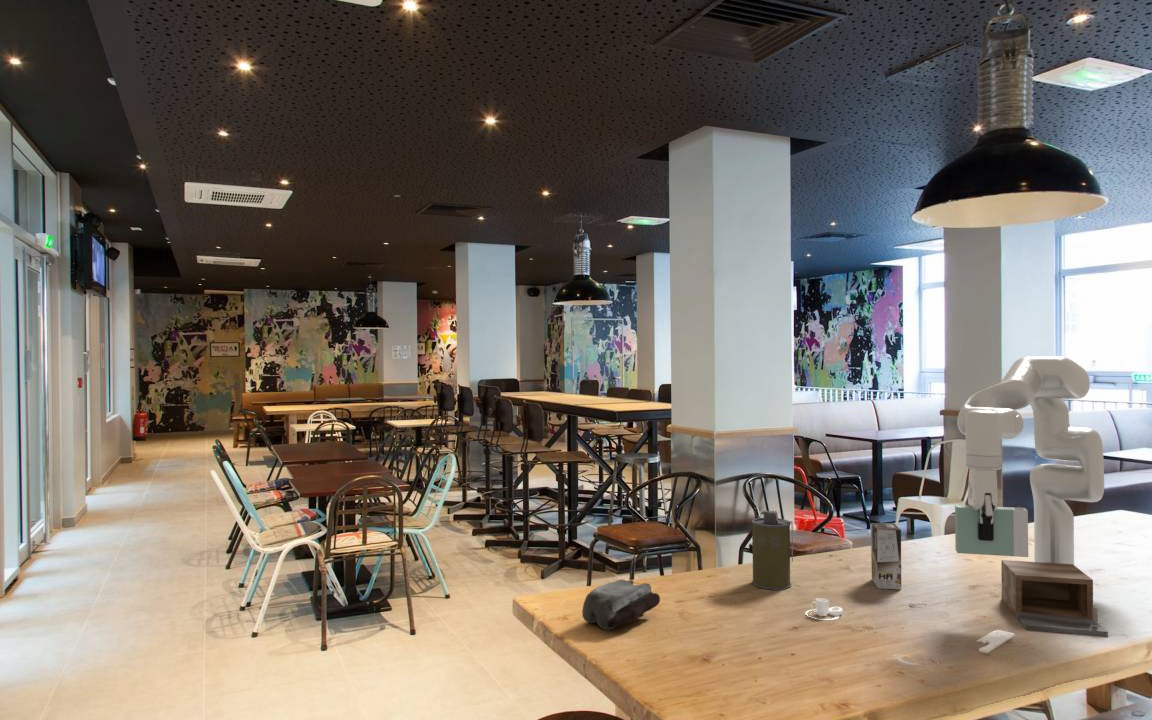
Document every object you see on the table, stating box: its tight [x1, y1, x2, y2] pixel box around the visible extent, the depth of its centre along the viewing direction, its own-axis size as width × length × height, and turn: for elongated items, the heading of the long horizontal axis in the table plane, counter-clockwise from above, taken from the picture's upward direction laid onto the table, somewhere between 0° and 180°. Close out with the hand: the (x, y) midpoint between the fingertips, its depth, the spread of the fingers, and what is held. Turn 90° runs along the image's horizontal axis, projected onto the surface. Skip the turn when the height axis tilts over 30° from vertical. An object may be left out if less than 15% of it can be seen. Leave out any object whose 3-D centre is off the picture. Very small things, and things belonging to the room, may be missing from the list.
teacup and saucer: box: [804, 597, 844, 621], centre depth 185 cm, size 9×8×4 cm
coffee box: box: [870, 522, 902, 590], centre depth 210 cm, size 9×6×16 cm
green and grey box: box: [954, 504, 1029, 558], centre depth 183 cm, size 3×15×11 cm, turn 72°
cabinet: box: [1000, 559, 1109, 637], centre depth 183 cm, size 23×16×10 cm
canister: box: [751, 510, 794, 591], centre depth 210 cm, size 11×10×20 cm
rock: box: [581, 578, 661, 631], centre depth 182 cm, size 20×12×8 cm, turn 142°
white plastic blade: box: [976, 629, 1016, 654], centre depth 167 cm, size 5×15×1 cm, turn 130°
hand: (984, 537), depth 183 cm, fingers closed on green and grey box, 3 cm apart
